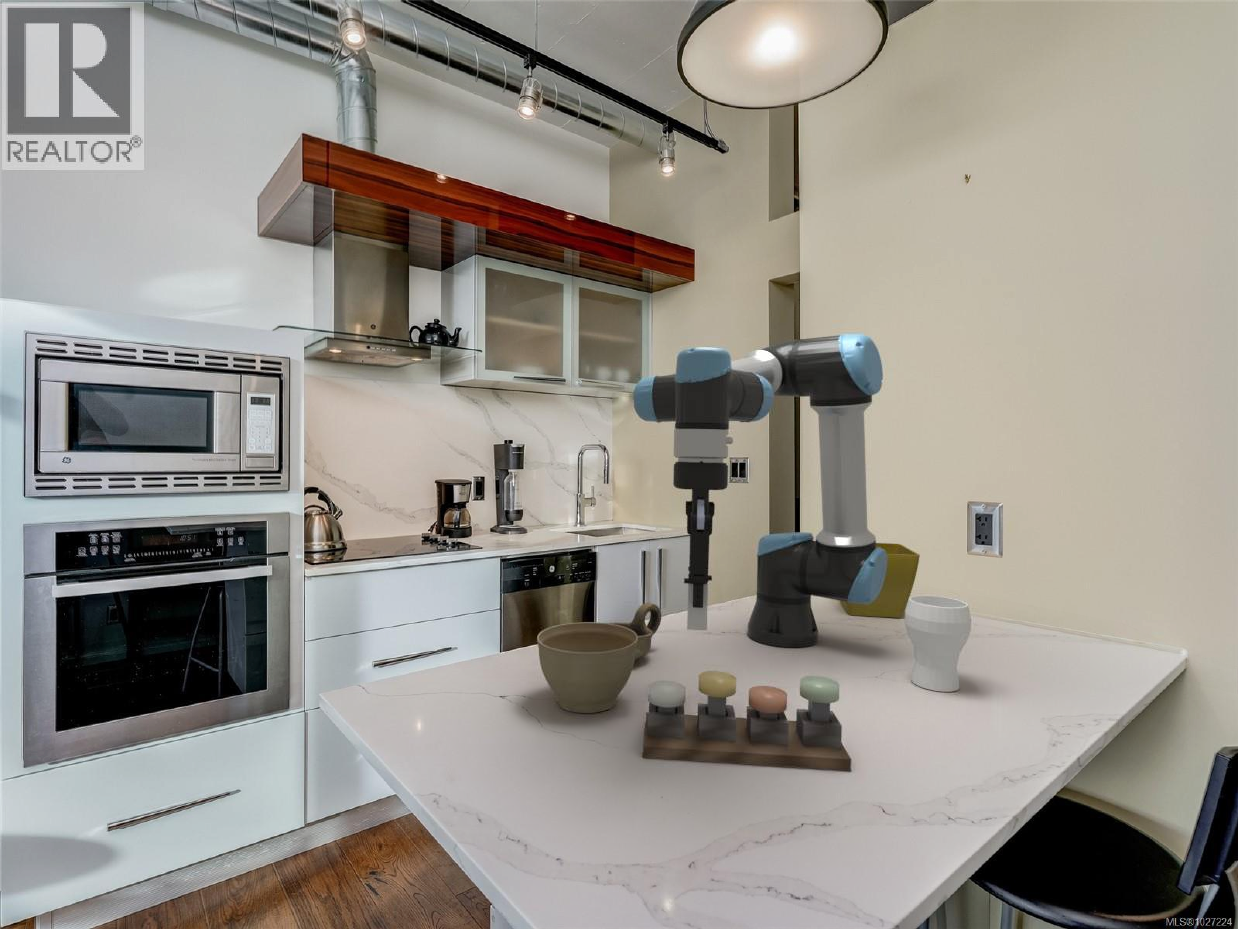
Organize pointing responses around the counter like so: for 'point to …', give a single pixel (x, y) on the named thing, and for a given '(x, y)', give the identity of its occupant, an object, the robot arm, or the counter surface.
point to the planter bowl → (587, 663)
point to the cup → (937, 639)
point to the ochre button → (717, 690)
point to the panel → (745, 739)
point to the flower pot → (891, 584)
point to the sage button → (819, 696)
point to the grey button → (666, 695)
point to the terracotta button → (767, 701)
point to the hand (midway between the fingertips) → (696, 628)
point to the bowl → (644, 627)
